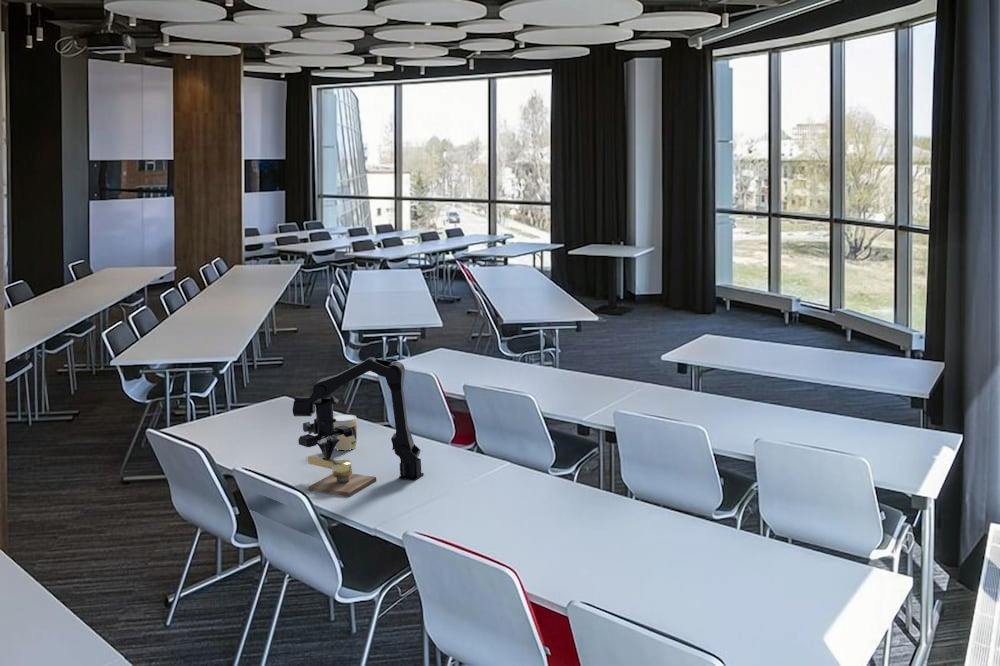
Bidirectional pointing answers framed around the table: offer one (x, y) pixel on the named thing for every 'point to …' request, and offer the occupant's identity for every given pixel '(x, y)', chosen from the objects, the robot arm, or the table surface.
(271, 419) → the table surface
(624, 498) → the table surface
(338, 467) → the beige elongated piece
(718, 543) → the table surface
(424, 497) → the table surface
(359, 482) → the base
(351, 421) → the coffee cup
